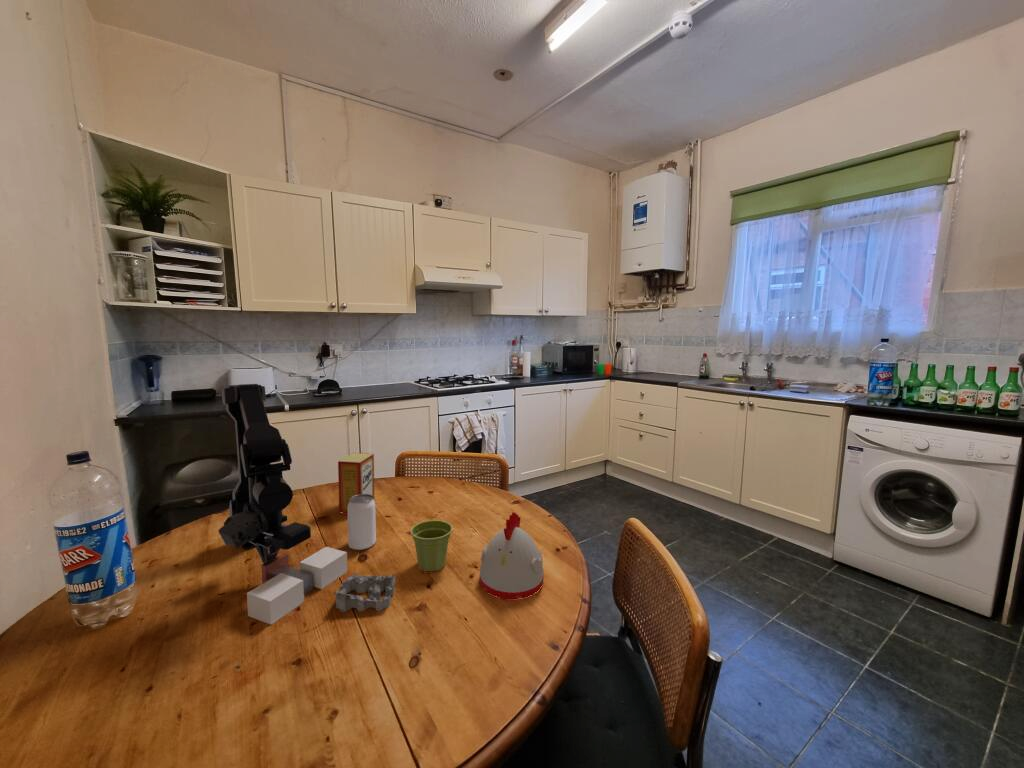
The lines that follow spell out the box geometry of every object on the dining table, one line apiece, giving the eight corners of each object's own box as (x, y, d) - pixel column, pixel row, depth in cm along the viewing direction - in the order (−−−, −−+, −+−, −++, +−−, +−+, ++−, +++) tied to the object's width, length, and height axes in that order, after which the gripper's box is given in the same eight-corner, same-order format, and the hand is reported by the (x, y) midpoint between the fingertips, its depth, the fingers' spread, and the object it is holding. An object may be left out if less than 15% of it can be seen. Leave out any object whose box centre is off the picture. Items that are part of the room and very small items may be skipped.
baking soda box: (354, 500, 129) (353, 451, 127) (374, 501, 128) (373, 452, 126) (339, 513, 119) (338, 460, 118) (360, 514, 119) (359, 461, 117)
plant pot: (402, 564, 93) (402, 528, 92) (436, 550, 100) (436, 516, 99) (426, 581, 87) (426, 543, 86) (460, 564, 94) (461, 528, 93)
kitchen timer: (468, 590, 84) (469, 521, 82) (494, 557, 97) (495, 497, 95) (532, 607, 79) (534, 534, 78) (550, 570, 92) (552, 506, 91)
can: (366, 552, 98) (366, 504, 97) (342, 549, 99) (341, 501, 98) (380, 539, 104) (380, 494, 103) (357, 536, 106) (357, 492, 104)
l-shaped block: (262, 589, 83) (261, 565, 82) (285, 575, 88) (284, 552, 87) (295, 600, 80) (294, 575, 79) (316, 585, 84) (316, 562, 84)
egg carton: (330, 613, 77) (330, 593, 76) (346, 589, 84) (346, 570, 84) (387, 614, 77) (387, 593, 76) (398, 589, 84) (398, 571, 84)
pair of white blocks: (248, 615, 75) (246, 593, 74) (326, 565, 92) (326, 546, 92) (271, 624, 73) (270, 601, 72) (347, 571, 90) (346, 552, 89)
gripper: (194, 501, 80) (198, 576, 81) (260, 519, 73) (263, 601, 75) (249, 483, 90) (252, 550, 92) (311, 498, 83) (313, 569, 85)
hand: (268, 566), depth 85 cm, fingers closed
